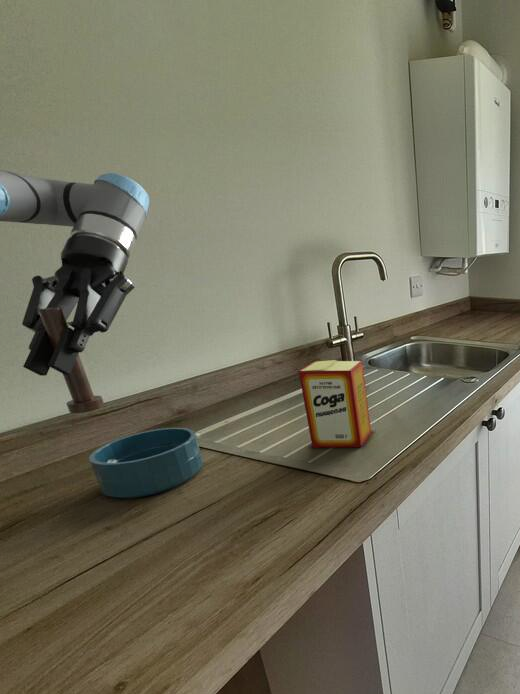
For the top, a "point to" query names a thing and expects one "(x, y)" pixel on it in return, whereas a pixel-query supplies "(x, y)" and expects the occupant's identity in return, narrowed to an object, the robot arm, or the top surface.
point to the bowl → (146, 462)
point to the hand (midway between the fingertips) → (47, 370)
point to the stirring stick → (77, 377)
